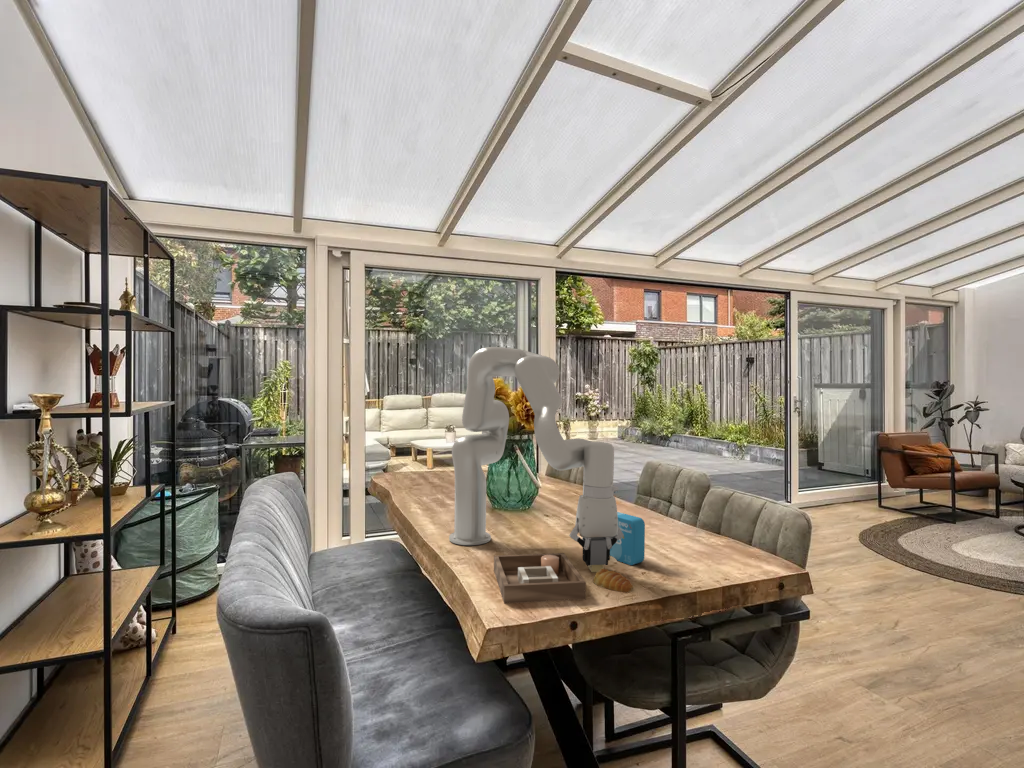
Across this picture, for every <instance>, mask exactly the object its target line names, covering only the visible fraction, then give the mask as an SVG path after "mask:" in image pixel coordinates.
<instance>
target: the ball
mask: <svg viewBox="0 0 1024 768" xmlns="http://www.w3.org/2000/svg"><path fill="white" fill-rule="evenodd" d="M541 566H551V567H552V569H553V571H554V572H555V574H556V575H557V576H558V575H559V557H558V556H555V555H544V556H542V557H541Z"/></svg>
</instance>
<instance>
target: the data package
mask: <svg viewBox="0 0 1024 768" xmlns="http://www.w3.org/2000/svg"><path fill="white" fill-rule="evenodd" d="M617 514H618V526H619V528H620V529H621V531H622V533H623V534H624V536H623V537H622V538H621V539H619V540H618V541H617V542H616V543H615V544H614V545H613V546H612V548H611V549H610V557H613V559H615V560H616V561H617V562H619V561H620V562H619V563H622V562H623V563H622V564H626V565H629V566H633V565H637V564H640V563H643V562H644V560H645V549H646V548H645V547H646V546H645V545H646V542H645V540H646V539H645V538H646V535H645V533H646V524H645V521H644V519H643V518H642V517H638V516H635V515H631V514H627V513H624V512H619V511H617Z"/></svg>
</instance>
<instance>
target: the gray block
mask: <svg viewBox="0 0 1024 768" xmlns="http://www.w3.org/2000/svg"><path fill="white" fill-rule="evenodd" d="M589 550H590V565H589V566H588V567H587V568H588V570H589V571H590V572H591V573H597V572H598V571H599V570H600V569H604V566H607V565H606V550H607V540H606V539H604V538H591V539H590V544H589Z"/></svg>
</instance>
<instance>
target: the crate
mask: <svg viewBox="0 0 1024 768" xmlns="http://www.w3.org/2000/svg"><path fill="white" fill-rule="evenodd" d="M544 555H555V556H558V557H559V575H558V576H557V575H556V574H555V572H554V571H553V569H552V567H551V566H541V557H542V556H544ZM493 572H494V575H495V579H496V582H497V584H498V588H499V592H500V594H501V595H500V596H501V598H502V601H503V604H519V603H520V604H521V603H539V602H540V603H541V602H543V603H544V602H559V601H560V602H561V601H563V602H564V601H566V602H567V601H582V600H584V601H585V600H586V597H587V596H586V592H587V591H586V589H587V585H586V584H587V583H586V581H585V580H584V578H583V577H582V576H581V574H580V572H579V571H578V570H577V568H575V566H574V565H573V563H572V562H571V560H570V559H569V557H568V556H567V555H566V554H565V553H563V552H562V553H561V552H560V553H559V552H558V553H554V552H553V553H534V554H532V553H531V554H503V555H500V554H499V555H498V554H497V555H493Z"/></svg>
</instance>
